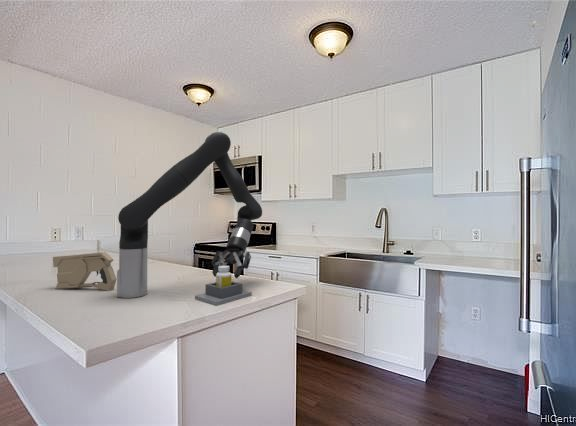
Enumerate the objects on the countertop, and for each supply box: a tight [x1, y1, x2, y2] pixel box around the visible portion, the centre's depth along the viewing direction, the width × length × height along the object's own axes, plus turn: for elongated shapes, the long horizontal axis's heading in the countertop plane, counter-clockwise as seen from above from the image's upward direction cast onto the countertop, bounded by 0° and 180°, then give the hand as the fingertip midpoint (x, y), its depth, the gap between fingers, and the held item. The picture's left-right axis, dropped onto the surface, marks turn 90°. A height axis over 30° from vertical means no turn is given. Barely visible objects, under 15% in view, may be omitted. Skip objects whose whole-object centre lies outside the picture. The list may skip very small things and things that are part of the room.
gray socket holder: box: [194, 280, 253, 306], centre depth 108 cm, size 16×12×5 cm
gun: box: [52, 251, 117, 292], centre depth 119 cm, size 24×3×15 cm, turn 84°
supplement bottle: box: [215, 265, 232, 287], centre depth 108 cm, size 5×5×10 cm
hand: (225, 276), depth 109 cm, fingers open, 8 cm apart
